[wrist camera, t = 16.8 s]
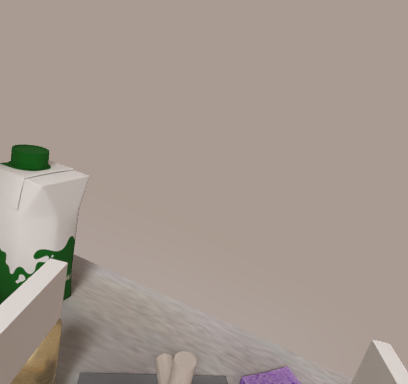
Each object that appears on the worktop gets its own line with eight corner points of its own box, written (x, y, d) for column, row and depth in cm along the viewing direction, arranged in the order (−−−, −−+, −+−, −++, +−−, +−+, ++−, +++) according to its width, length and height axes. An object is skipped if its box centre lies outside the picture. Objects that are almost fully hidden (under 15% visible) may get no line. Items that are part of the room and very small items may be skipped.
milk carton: (33, 272, 51) (45, 141, 46) (81, 296, 48) (100, 160, 43) (-24, 299, 43) (-19, 146, 38) (29, 330, 40) (44, 169, 35)
